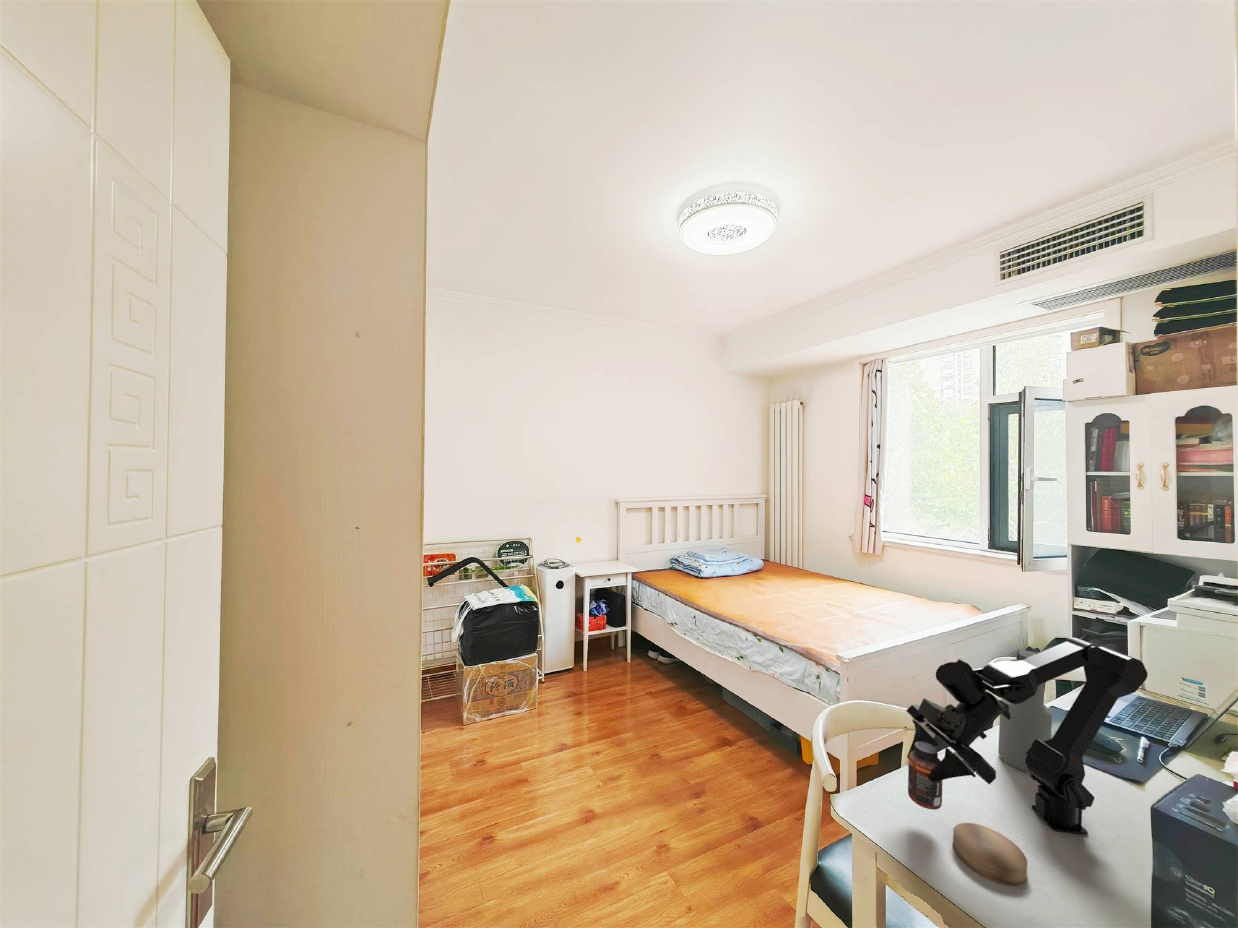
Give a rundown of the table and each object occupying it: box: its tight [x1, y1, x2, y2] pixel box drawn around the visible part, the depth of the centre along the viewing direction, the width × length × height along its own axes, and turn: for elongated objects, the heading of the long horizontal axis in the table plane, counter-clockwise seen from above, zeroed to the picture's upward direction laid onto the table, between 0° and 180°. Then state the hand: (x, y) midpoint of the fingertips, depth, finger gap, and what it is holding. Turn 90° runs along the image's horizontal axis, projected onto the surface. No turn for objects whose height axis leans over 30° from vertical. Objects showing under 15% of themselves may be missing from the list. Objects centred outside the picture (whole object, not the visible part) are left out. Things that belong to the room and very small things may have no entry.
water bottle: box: [997, 648, 1053, 774], centre depth 117 cm, size 10×10×28 cm
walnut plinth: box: [952, 822, 1028, 886], centre depth 88 cm, size 11×11×2 cm
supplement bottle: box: [907, 742, 944, 811], centre depth 96 cm, size 6×6×11 cm
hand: (918, 769), depth 96 cm, fingers closed on supplement bottle, 6 cm apart
